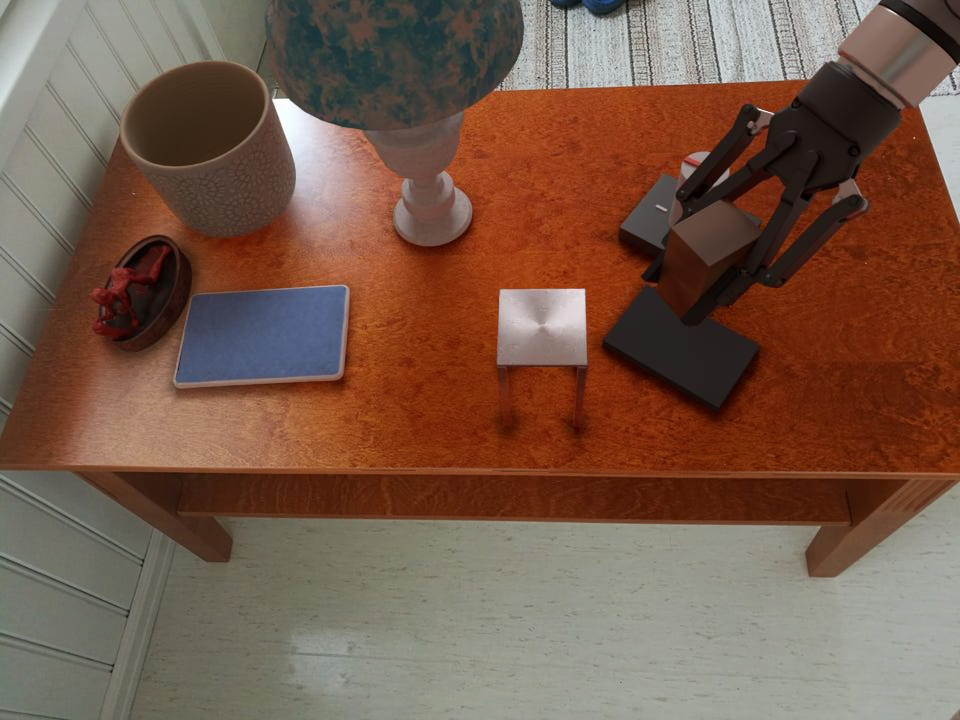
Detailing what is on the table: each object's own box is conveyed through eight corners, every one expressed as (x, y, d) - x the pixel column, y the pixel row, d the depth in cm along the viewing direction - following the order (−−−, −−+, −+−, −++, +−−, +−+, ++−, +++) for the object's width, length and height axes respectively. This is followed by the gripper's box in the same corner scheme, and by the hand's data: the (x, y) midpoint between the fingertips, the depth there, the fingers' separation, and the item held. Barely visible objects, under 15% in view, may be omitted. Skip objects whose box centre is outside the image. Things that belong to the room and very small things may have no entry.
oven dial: (720, 218, 86) (739, 161, 78) (699, 247, 84) (716, 192, 76) (681, 200, 87) (696, 142, 79) (660, 228, 86) (672, 172, 78)
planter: (297, 254, 90) (254, 167, 77) (165, 257, 92) (100, 171, 78) (316, 152, 98) (280, 56, 85) (194, 155, 100) (140, 62, 86)
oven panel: (758, 230, 87) (763, 218, 85) (715, 289, 84) (720, 278, 82) (661, 183, 91) (664, 171, 90) (617, 237, 88) (619, 226, 86)
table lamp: (365, 138, 99) (268, -202, 64) (542, 153, 95) (541, -199, 60) (315, 285, 88) (164, -28, 53) (511, 308, 84) (489, -11, 49)
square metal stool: (579, 360, 81) (585, 288, 68) (580, 427, 77) (587, 364, 65) (506, 359, 81) (499, 289, 69) (504, 426, 78) (496, 364, 65)
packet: (655, 291, 72) (670, 227, 63) (704, 263, 73) (725, 195, 64) (688, 328, 70) (709, 266, 61) (738, 298, 71) (765, 233, 62)
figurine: (192, 348, 85) (111, 312, 77) (135, 370, 89) (52, 339, 81) (203, 240, 92) (129, 196, 83) (149, 265, 96) (73, 226, 87)
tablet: (174, 391, 83) (169, 386, 82) (193, 297, 89) (189, 291, 88) (344, 383, 82) (341, 377, 80) (352, 288, 88) (349, 282, 86)
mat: (757, 350, 80) (760, 345, 78) (716, 412, 76) (718, 408, 75) (645, 289, 84) (646, 283, 83) (601, 345, 81) (602, 340, 80)
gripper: (971, 165, 56) (750, 371, 68) (802, 37, 64) (629, 241, 75) (954, 145, 51) (716, 374, 62) (771, 8, 58) (589, 232, 70)
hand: (669, 300), depth 69 cm, fingers closed on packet, 5 cm apart
